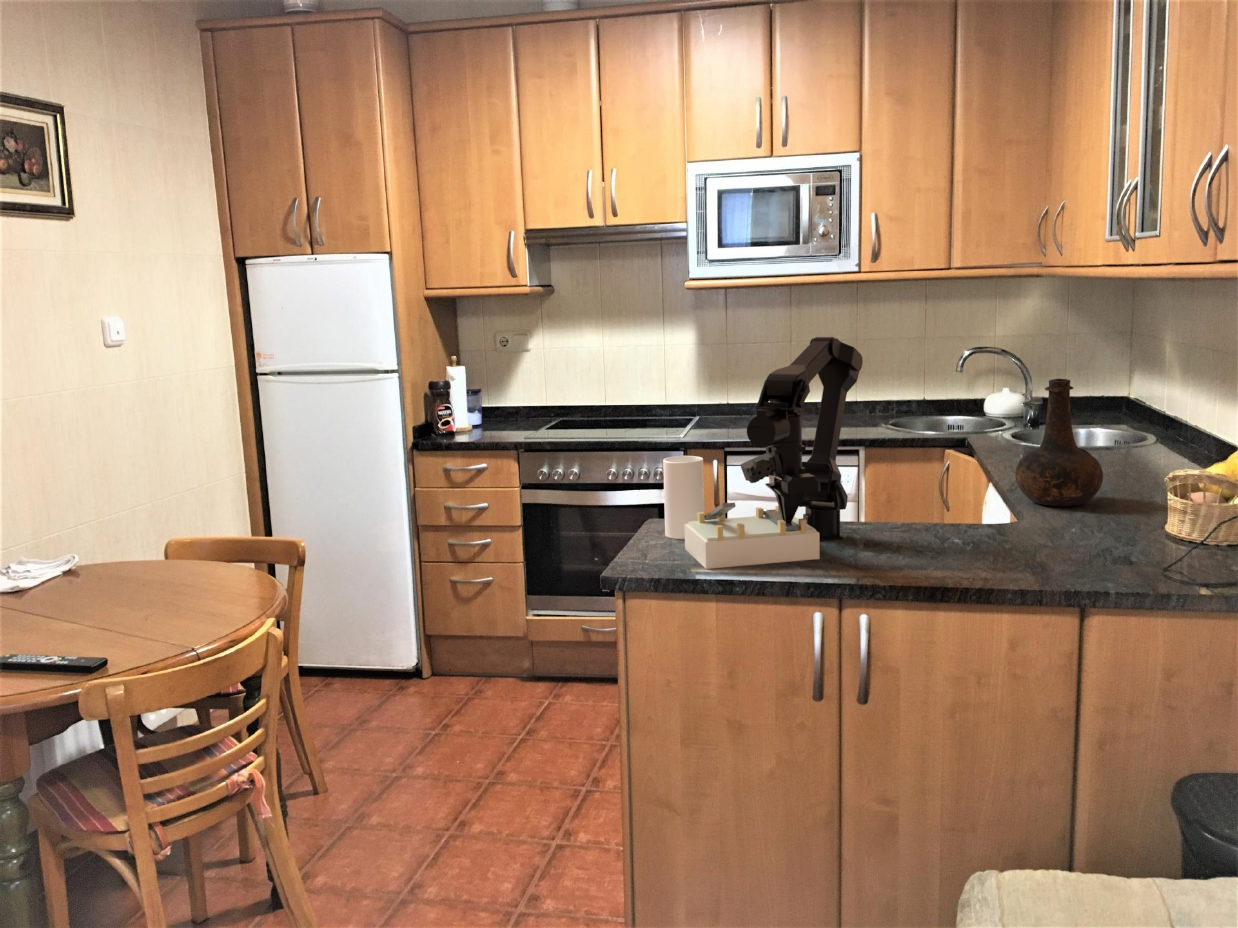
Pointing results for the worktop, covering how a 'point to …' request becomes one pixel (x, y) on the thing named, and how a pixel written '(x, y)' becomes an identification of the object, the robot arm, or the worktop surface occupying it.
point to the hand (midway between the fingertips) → (787, 522)
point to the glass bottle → (1059, 458)
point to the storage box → (749, 541)
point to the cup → (682, 493)
